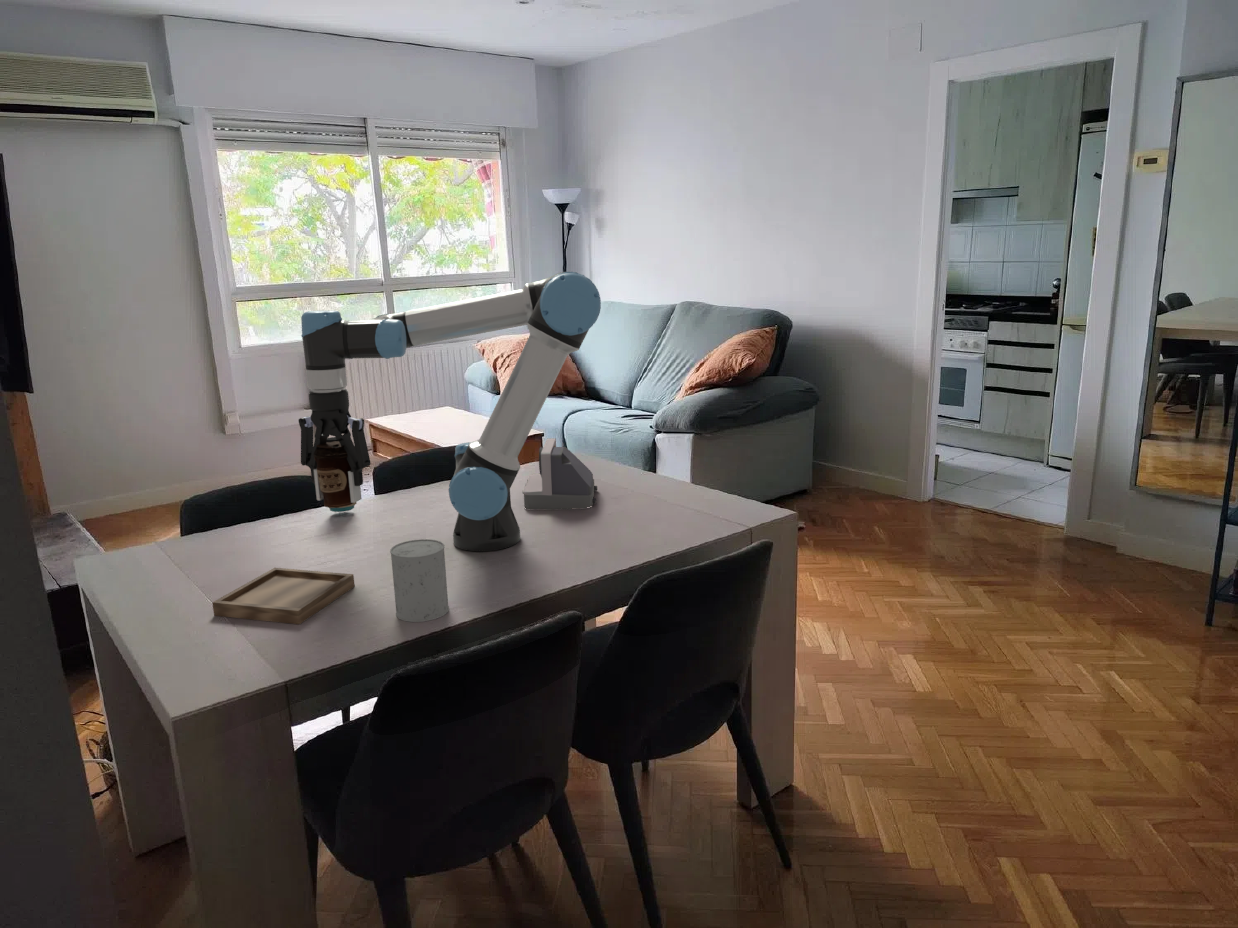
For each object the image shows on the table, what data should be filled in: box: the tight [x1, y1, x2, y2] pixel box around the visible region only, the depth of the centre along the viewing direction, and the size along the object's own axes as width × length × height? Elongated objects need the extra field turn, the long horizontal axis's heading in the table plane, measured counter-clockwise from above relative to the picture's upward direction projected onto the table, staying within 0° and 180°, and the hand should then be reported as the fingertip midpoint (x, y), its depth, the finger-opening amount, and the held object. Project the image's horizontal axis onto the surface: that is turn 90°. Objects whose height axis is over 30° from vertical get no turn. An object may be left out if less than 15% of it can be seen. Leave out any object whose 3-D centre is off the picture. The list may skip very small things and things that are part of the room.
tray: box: [212, 567, 356, 625], centre depth 161 cm, size 18×18×3 cm
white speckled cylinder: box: [389, 538, 450, 623], centre depth 153 cm, size 10×10×12 cm
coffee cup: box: [313, 441, 357, 508], centre depth 172 cm, size 9×8×13 cm
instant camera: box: [522, 437, 598, 510], centre depth 222 cm, size 21×21×15 cm
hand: (339, 499), depth 173 cm, fingers closed on coffee cup, 7 cm apart
